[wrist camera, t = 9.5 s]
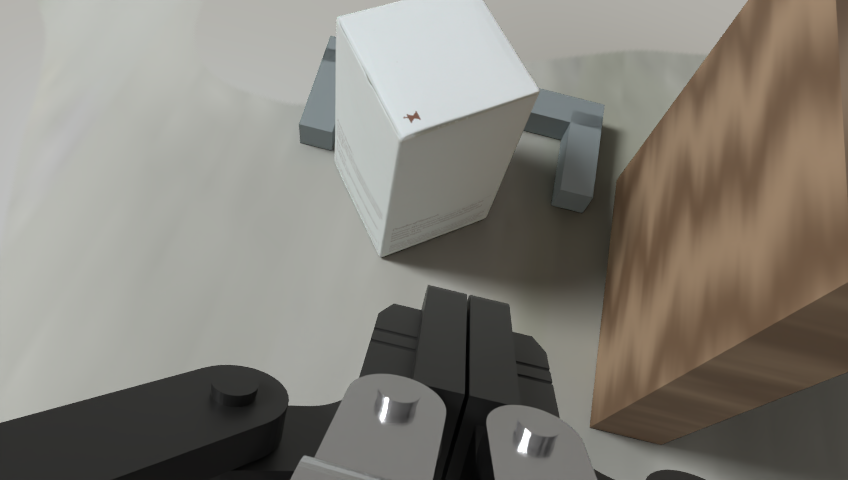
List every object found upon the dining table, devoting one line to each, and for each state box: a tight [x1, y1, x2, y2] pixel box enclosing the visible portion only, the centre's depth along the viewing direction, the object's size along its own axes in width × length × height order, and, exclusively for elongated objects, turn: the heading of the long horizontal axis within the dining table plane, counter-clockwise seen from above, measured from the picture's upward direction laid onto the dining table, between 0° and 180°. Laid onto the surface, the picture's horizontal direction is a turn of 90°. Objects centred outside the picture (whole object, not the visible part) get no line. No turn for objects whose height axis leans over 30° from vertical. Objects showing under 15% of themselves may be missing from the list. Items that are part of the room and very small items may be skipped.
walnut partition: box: [590, 0, 848, 445], centre depth 32 cm, size 17×5×23 cm, turn 168°
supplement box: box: [335, 0, 540, 257], centre depth 38 cm, size 7×7×13 cm
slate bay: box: [299, 36, 604, 213], centre depth 45 cm, size 7×18×2 cm, turn 78°
